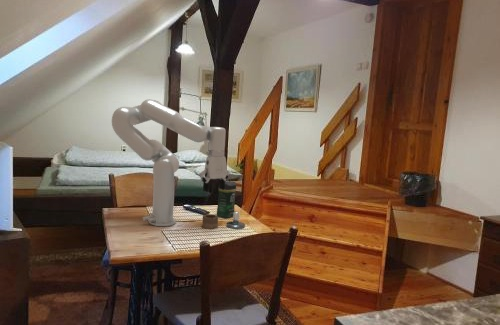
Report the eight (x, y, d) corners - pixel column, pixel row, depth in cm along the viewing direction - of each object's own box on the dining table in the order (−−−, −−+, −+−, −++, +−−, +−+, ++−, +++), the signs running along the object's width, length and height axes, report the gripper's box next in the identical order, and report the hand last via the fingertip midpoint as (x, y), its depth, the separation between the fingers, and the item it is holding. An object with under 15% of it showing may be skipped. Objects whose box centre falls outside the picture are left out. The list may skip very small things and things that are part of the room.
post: (235, 230, 166) (236, 215, 165) (222, 225, 172) (223, 211, 172) (248, 227, 173) (249, 212, 172) (235, 222, 179) (236, 208, 178)
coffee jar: (226, 219, 183) (229, 183, 181) (214, 216, 187) (216, 181, 185) (236, 215, 192) (239, 181, 189) (224, 212, 195) (226, 179, 193)
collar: (208, 229, 164) (209, 219, 163) (199, 226, 169) (200, 215, 168) (220, 227, 169) (221, 217, 168) (210, 223, 174) (211, 213, 173)
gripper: (206, 155, 157) (204, 193, 159) (235, 154, 169) (233, 190, 171) (196, 153, 162) (194, 190, 164) (224, 152, 174) (222, 187, 176)
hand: (214, 190), depth 167 cm, fingers open, 9 cm apart
